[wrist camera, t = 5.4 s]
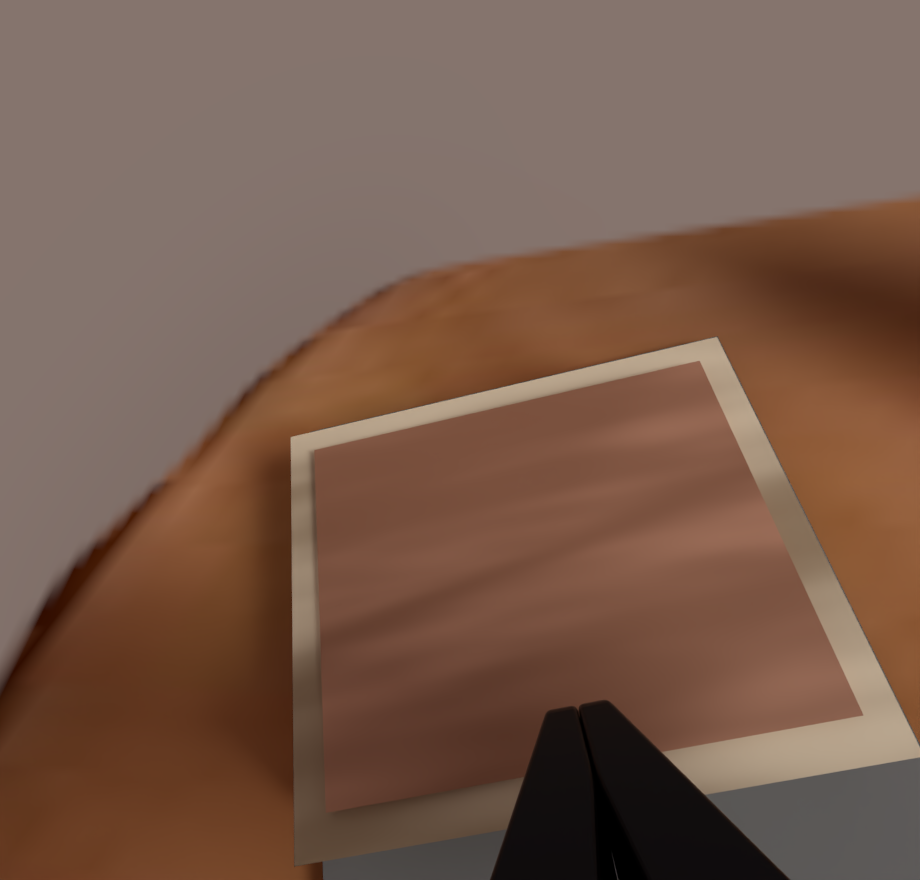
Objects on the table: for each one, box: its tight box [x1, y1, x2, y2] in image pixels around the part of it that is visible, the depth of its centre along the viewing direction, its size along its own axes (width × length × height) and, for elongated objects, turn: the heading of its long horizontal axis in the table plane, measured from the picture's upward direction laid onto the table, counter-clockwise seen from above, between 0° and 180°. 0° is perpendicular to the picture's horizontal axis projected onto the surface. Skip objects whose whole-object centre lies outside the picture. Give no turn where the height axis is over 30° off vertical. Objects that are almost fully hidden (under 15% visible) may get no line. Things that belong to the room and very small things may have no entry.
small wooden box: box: [291, 337, 920, 866], centre depth 15 cm, size 3×12×10 cm
